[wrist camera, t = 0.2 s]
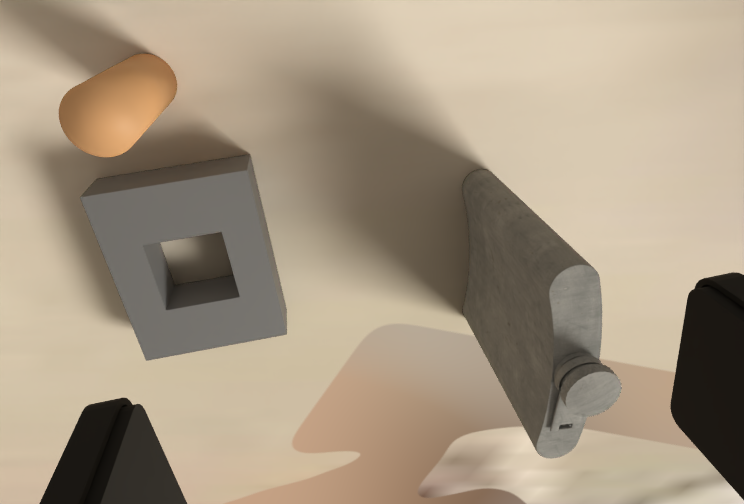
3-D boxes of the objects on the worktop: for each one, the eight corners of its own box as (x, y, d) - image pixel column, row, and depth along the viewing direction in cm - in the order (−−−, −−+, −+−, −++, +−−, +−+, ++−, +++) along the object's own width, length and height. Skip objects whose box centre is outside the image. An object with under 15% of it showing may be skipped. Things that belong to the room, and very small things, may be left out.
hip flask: (461, 171, 46) (571, 291, 29) (507, 165, 47) (642, 280, 29) (462, 323, 54) (550, 491, 36) (501, 316, 54) (607, 480, 37)
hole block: (96, 178, 42) (80, 197, 39) (250, 154, 43) (247, 170, 39) (156, 333, 49) (146, 360, 46) (286, 309, 50) (286, 334, 46)
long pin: (111, 57, 38) (46, 88, 28) (167, 49, 39) (124, 77, 28) (129, 113, 40) (75, 162, 30) (183, 105, 41) (148, 150, 30)
